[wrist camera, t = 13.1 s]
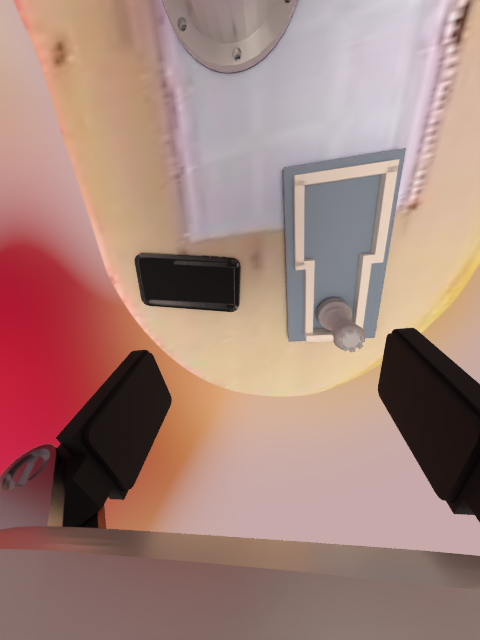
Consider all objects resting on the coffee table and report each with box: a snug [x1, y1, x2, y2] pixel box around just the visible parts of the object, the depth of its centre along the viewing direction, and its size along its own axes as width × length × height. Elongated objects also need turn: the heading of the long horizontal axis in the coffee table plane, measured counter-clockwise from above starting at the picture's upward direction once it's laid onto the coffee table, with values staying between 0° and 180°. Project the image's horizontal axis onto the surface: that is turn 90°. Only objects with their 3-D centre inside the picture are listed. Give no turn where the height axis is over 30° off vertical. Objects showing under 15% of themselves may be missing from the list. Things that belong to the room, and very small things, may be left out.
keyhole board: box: [283, 148, 406, 342], centre depth 27 cm, size 22×12×4 cm, turn 7°
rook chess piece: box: [316, 298, 365, 352], centre depth 27 cm, size 4×4×8 cm
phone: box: [135, 253, 240, 312], centre depth 32 cm, size 8×1×15 cm
